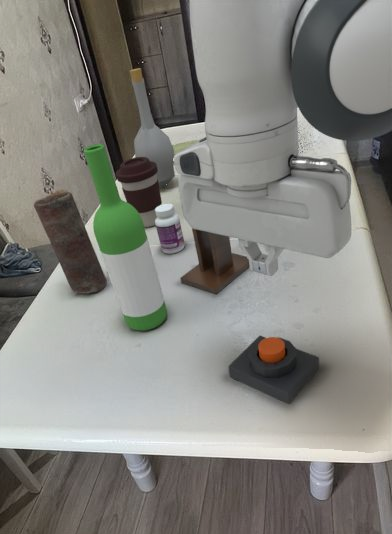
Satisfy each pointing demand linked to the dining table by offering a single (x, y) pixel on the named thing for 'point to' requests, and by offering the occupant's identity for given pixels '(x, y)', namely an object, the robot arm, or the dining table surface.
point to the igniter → (271, 350)
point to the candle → (70, 242)
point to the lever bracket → (214, 263)
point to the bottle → (151, 135)
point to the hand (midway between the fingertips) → (264, 271)
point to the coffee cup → (141, 187)
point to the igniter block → (275, 371)
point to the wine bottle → (125, 248)
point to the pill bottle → (169, 229)
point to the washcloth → (182, 146)
